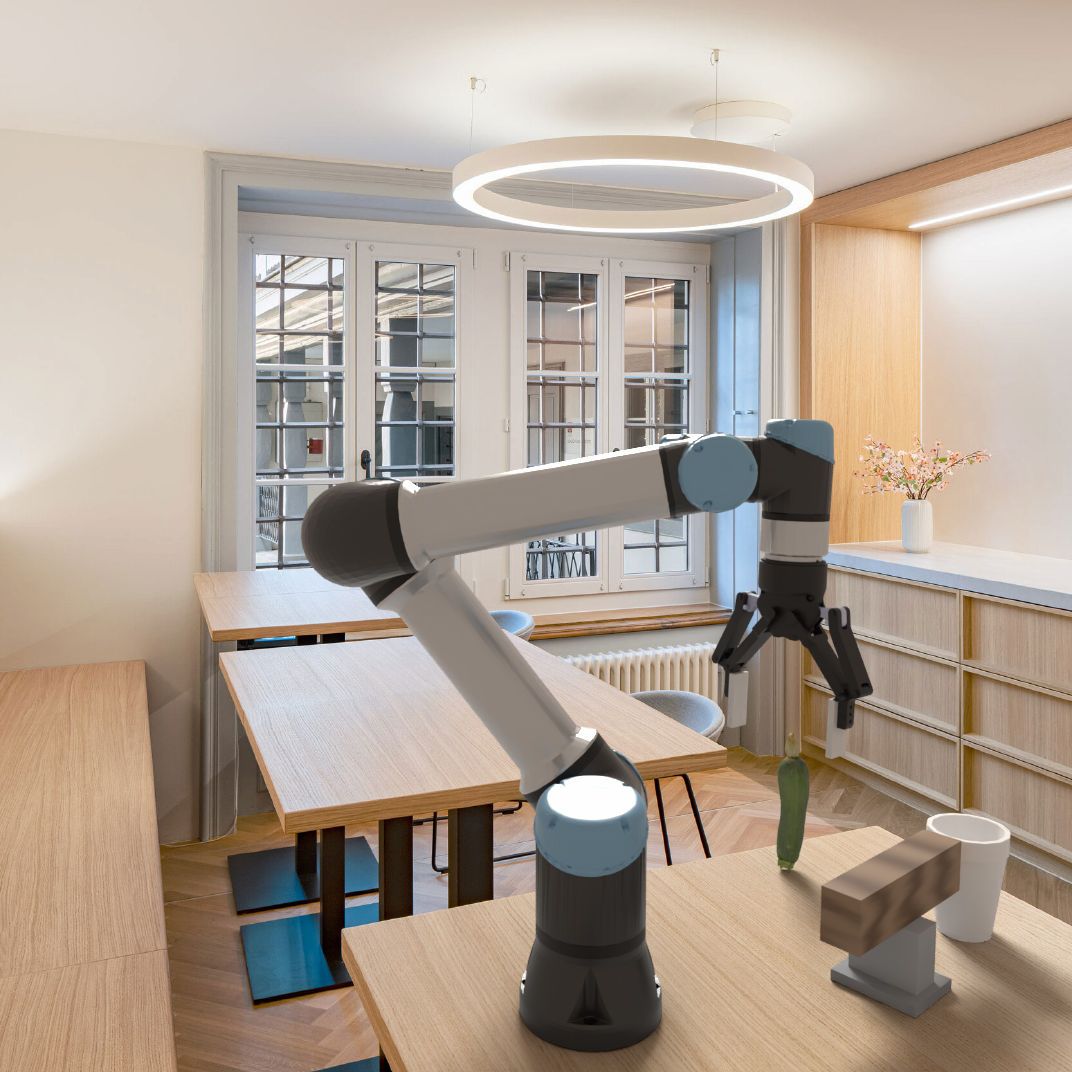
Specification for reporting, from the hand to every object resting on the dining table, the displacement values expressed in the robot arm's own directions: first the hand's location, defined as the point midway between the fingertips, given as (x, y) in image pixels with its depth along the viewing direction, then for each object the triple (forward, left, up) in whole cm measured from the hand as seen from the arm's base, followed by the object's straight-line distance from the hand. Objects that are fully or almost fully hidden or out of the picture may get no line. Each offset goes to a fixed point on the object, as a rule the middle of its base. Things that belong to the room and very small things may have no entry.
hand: (783, 740), depth 111 cm
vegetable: (+21, +12, -26) cm, 35 cm away
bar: (+4, -12, -18) cm, 22 cm away
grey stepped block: (+4, -12, -26) cm, 29 cm away
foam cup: (+22, -12, -26) cm, 36 cm away
